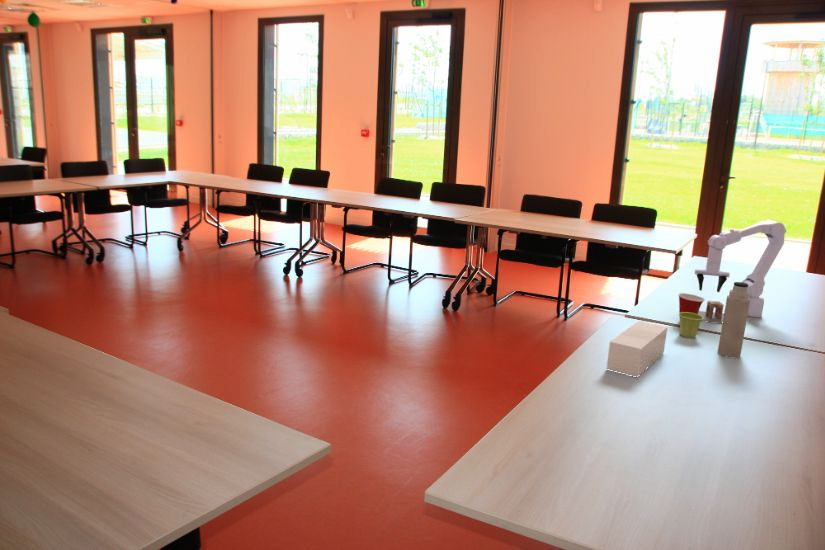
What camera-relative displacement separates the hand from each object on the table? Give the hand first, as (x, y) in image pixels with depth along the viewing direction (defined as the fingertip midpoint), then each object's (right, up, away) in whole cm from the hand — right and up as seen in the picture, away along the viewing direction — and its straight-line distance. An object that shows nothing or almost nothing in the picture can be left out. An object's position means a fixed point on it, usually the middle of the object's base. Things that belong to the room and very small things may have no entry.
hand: (709, 290), depth 316 cm
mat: (-1, -12, -6) cm, 13 cm away
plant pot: (-23, -18, -33) cm, 44 cm away
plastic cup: (-16, -14, -15) cm, 26 cm away
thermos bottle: (-15, -23, -53) cm, 60 cm away
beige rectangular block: (-55, -24, -66) cm, 89 cm away
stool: (-1, -12, -6) cm, 13 cm away
